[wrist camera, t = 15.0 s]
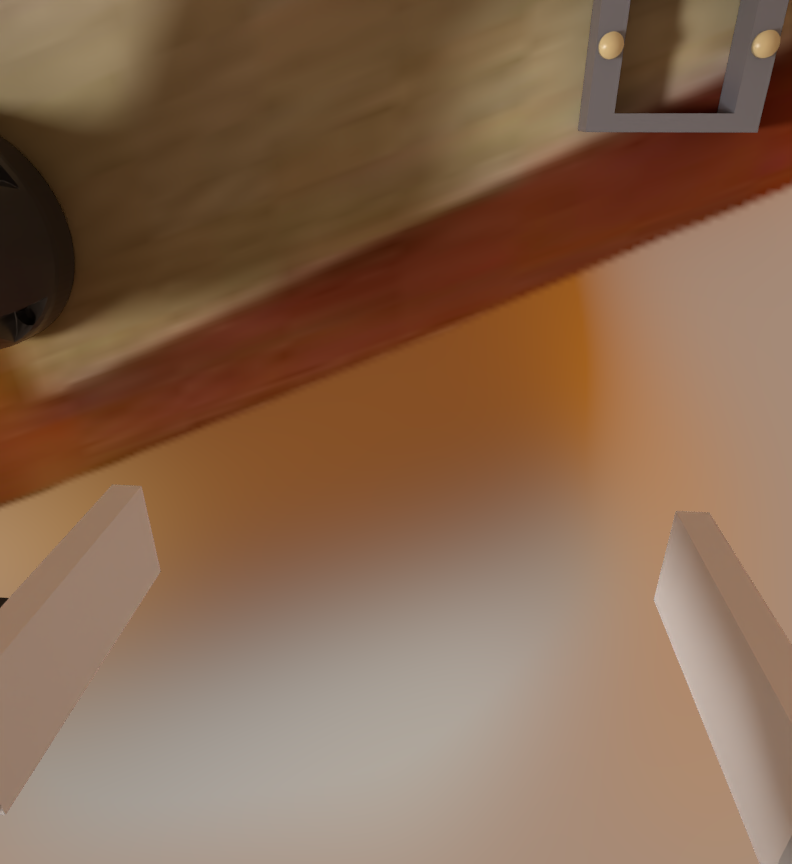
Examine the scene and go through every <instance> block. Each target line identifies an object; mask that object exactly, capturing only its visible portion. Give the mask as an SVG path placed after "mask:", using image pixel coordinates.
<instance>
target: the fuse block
mask: <svg viewBox="0 0 792 864" xmlns="http://www.w3.org/2000/svg"><path fill="white" fill-rule="evenodd" d="M630 1H631V0H594V1H593V9H592V17H591V26H590V34H589V42H588V50H587V59H586V67H585V75H584V84H583V92H582V100H581V109H580V117H579V125H578V131H583V132H758V128H759V123H760V119H761V115H762V111H763V107H764V102H765V98H766V94H767V90H768V86H769V82H770V77H771V73H772V69H773V65H774V61H775V57H776V52H777V49H778V48H779V45H780V36H781V32H782V27H783V23H784V19H785V15H786V11H787V6H788V2H789V0H741V2H740V7H739V11H738V16H737V21H736V26H735V30H734V35H733V40H732V45H731V49H730V54H729V59H728V64H727V68H726V73H725V78H724V83H723V87H722V92H721V97H720V102H719V106H718V111H717V113H615V106H616V99H617V92H618V85H619V78H620V71H621V64H622V57H623V50H624V43H625V36H626V29H627V22H628V15H629V8H630Z"/></svg>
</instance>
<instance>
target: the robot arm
mask: <svg viewBox="0 0 792 864" xmlns="http://www.w3.org/2000/svg"><path fill="white" fill-rule="evenodd" d="M73 278H74V252H73V245H72V240H71V236H70V232H69V228H68V225H67V222H66V219H65V217H64V214H63V212H62V210H61V208H60V206H59V203H58V202H57V200H56V198H55V196H54V194H53V193H52V191H51V189H50V188H49V186H48V185H47V183H46V182H45V180H44V179H43V178H42V176H41V175H40V174H39V172H38V171H37V170H36V169H35V168H34V166H33V165H32V164H31V163H30V162H29V161H28V160H27V159H26V158H25V157H24V156H23V155H22V154H21V153H20V152H19V151H18V150H17V149H16V148H15V147H13V146H12V145H11V144H10V143H8V142H7V141H6V140H5V139H3V138H2V137H0V349H2V348H6V347H10V346H13V345H15V344H18V343H20V342H22V341H24V340H26V339H28V338H30V337H32V336H33V335H35V334H37V333H39V332H41V331H42V330H44V329H45V328H47V327H48V326H49V325H50V324H51V323H52V322H53V321H54V320H55V319H56V318H57V317H58V316H59V314H60V313H61V312H62V310H63V308H64V307H65V305H66V302H67V300H68V298H69V295H70V292H71V288H72V284H73ZM159 573H160V566H159V562H158V558H157V554H156V549H155V544H154V540H153V535H152V531H151V526H150V522H149V517H148V513H147V509H146V504H145V500H144V495H143V491H142V487H141V486H128V485H112V486H111V487H110V488H109V489H108V490H107V491H106V492H105V493H104V494H103V496H102V497H101V498H100V499H99V500H98V501H97V502H96V503H95V504H94V505H93V507H92V508H91V509H90V510H89V511H88V512H87V513H86V514H85V515H84V516H83V518H82V519H81V520H80V521H79V522H78V523H77V524H76V525H75V526H74V527H73V528H72V530H71V531H70V532H69V533H68V534H67V535H66V536H65V537H64V538H63V540H62V541H61V542H60V543H59V544H58V545H57V546H56V547H55V548H54V549H53V551H52V552H51V553H50V554H49V555H48V556H47V557H46V558H45V559H44V560H43V561H42V563H41V564H40V565H39V566H38V567H37V568H36V569H35V570H34V571H33V572H32V574H31V575H30V576H29V577H28V578H27V579H26V580H25V581H24V582H23V583H22V585H21V586H20V587H19V588H18V589H17V590H16V591H15V592H14V593H13V594H12V596H11V597H10V598H0V814H1V815H6V813H7V812H8V810H9V809H10V807H11V805H12V804H13V803H14V801H15V799H16V798H17V796H18V794H19V793H20V791H21V790H22V788H23V787H24V785H25V784H26V782H27V781H28V779H29V777H30V776H31V774H32V773H33V771H34V770H35V768H36V766H37V765H38V763H39V762H40V760H41V759H42V757H43V755H44V754H45V752H46V751H47V749H48V748H49V746H50V744H51V743H52V741H53V740H54V738H55V736H56V735H57V733H58V732H59V730H60V728H61V727H62V726H63V724H64V722H65V721H66V719H67V717H68V716H69V714H70V713H71V711H72V710H73V708H74V707H75V705H76V703H77V702H78V700H79V699H80V697H81V696H82V694H83V693H84V691H85V689H86V688H87V686H88V685H89V683H90V681H91V680H92V678H93V677H94V675H95V674H96V672H97V671H98V669H99V667H100V666H101V664H102V662H103V661H104V659H105V658H106V656H107V655H108V653H109V652H110V650H111V648H112V647H113V645H114V644H115V642H116V641H117V639H118V638H119V636H120V634H121V633H122V631H123V630H124V628H125V626H126V625H127V623H128V622H129V620H130V619H131V617H132V616H133V614H134V612H135V611H136V609H137V608H138V606H139V605H140V603H141V601H142V600H143V598H144V597H145V595H146V594H147V592H148V590H149V589H150V587H151V586H152V584H153V582H154V581H155V579H156V578H157V576H158V574H159ZM654 601H655V604H656V606H657V609H658V611H659V614H660V616H661V619H662V621H663V624H664V626H665V629H666V631H667V634H668V636H669V639H670V641H671V644H672V646H673V649H674V651H675V654H676V656H677V659H678V661H679V664H680V666H681V669H682V671H683V674H684V676H685V679H686V681H687V684H688V686H689V689H690V691H691V694H692V696H693V699H694V701H695V704H696V706H697V709H698V711H699V713H700V716H701V719H702V721H703V724H704V726H705V728H706V731H707V733H708V736H709V738H710V741H711V743H712V746H713V748H714V751H715V753H716V756H717V758H718V761H719V763H720V766H721V768H722V771H723V773H724V776H725V778H726V781H727V783H728V786H729V788H730V791H731V793H732V796H733V798H734V801H735V803H736V805H737V808H738V811H739V813H740V816H741V818H742V821H743V823H744V826H745V828H746V831H747V833H748V836H749V838H750V840H751V843H752V845H753V848H754V850H755V853H756V855H757V858H758V860H759V863H760V864H792V644H791V643H790V641H789V639H788V638H787V636H786V635H785V633H784V631H783V630H782V628H781V627H780V625H779V623H778V622H777V620H776V618H775V617H774V615H773V614H772V612H771V611H770V609H769V607H768V606H767V604H766V603H765V601H764V599H763V598H762V596H761V594H760V593H759V591H758V590H757V588H756V586H755V585H754V583H753V582H752V580H751V579H750V577H749V575H748V574H747V572H746V570H745V569H744V567H743V566H742V564H741V562H740V561H739V559H738V558H737V556H736V555H735V553H734V551H733V550H732V548H731V546H730V545H729V543H728V542H727V540H726V539H725V537H724V535H723V534H722V532H721V530H720V529H719V527H718V526H717V524H716V522H715V521H714V519H713V518H712V516H711V514H710V513H706V512H684V511H676V513H675V517H674V521H673V525H672V529H671V533H670V537H669V541H668V545H667V549H666V553H665V557H664V561H663V565H662V569H661V573H660V577H659V581H658V585H657V589H656V593H655V597H654Z"/></svg>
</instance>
